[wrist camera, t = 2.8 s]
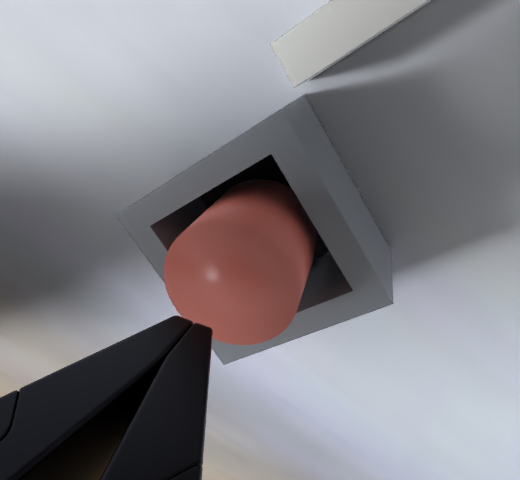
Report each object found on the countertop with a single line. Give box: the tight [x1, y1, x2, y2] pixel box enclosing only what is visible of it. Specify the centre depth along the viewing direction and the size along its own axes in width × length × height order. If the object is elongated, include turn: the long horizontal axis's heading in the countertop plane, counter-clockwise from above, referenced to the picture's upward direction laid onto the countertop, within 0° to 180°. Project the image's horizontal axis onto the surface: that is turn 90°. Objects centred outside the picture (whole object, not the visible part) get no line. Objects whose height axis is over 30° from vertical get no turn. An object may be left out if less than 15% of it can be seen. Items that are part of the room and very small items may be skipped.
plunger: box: [164, 179, 319, 345], centre depth 12 cm, size 4×4×4 cm
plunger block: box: [116, 95, 393, 365], centre depth 14 cm, size 6×6×4 cm
